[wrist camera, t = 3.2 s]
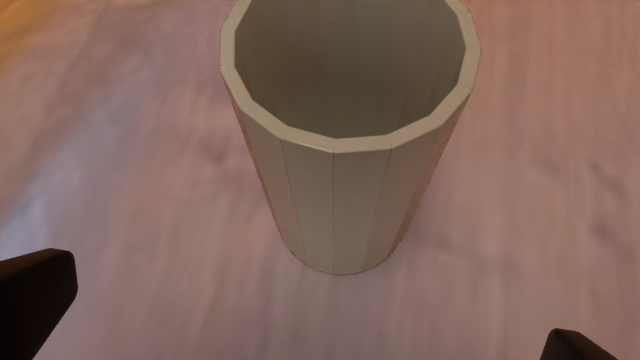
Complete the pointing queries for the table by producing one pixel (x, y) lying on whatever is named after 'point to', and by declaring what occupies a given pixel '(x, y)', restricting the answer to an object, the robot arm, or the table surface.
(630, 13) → the table surface
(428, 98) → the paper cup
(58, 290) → the robot arm
